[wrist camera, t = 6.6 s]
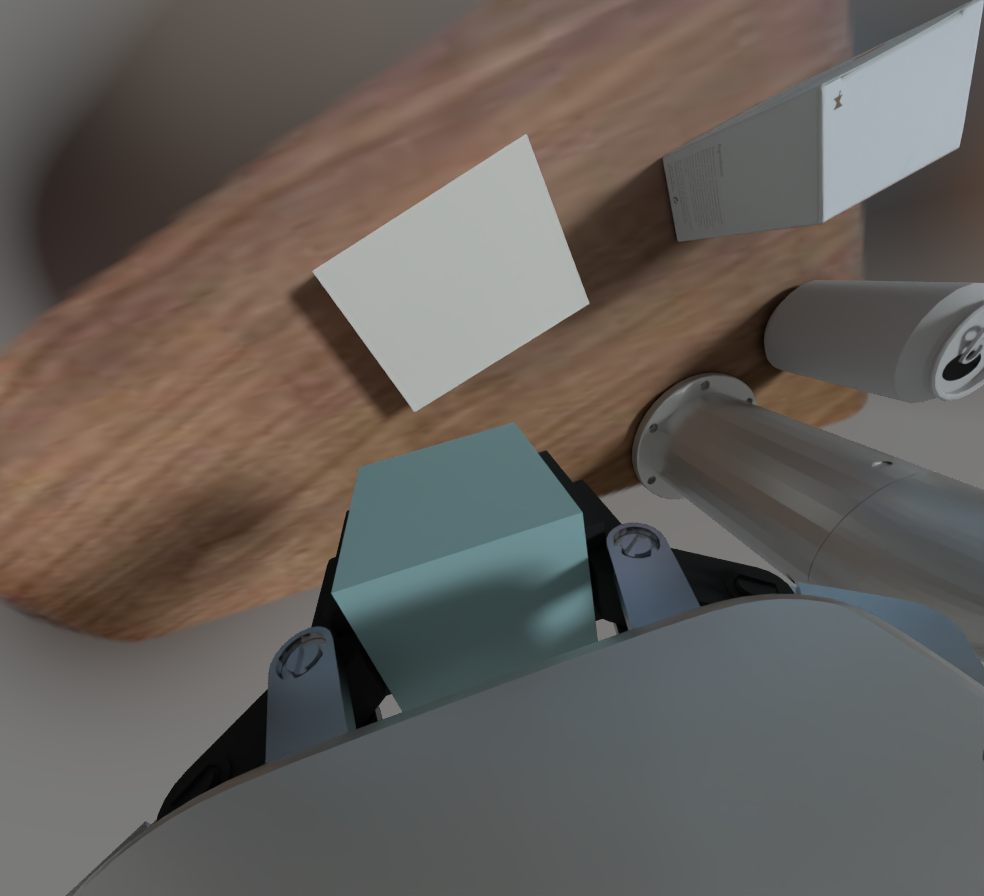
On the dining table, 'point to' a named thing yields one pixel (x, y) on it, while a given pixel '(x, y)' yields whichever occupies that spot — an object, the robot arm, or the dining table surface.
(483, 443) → the teal cube
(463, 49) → the dining table surface
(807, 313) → the can
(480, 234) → the plate
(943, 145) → the small box
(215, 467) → the dining table surface
